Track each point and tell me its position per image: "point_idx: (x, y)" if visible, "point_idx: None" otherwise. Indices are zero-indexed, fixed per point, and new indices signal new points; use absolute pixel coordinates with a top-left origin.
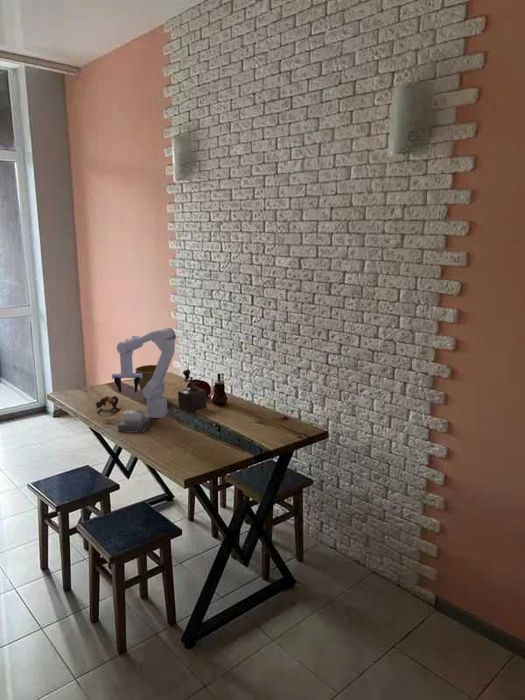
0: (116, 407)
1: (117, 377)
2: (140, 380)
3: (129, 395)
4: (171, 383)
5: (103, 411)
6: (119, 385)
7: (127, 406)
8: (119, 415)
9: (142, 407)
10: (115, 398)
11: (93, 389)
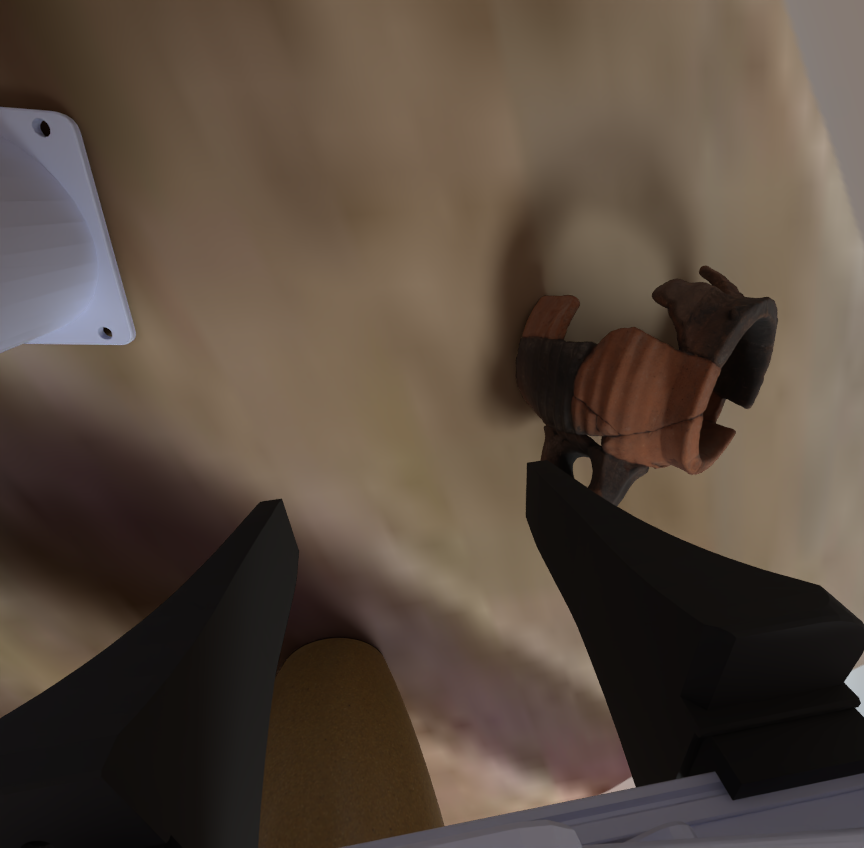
0: (529, 383)
1: (785, 790)
2: (383, 819)
3: (501, 666)
4: None
5: (640, 326)
6: (597, 548)
7: (447, 477)
8: (446, 205)
9: (296, 470)
10: None
11: None
